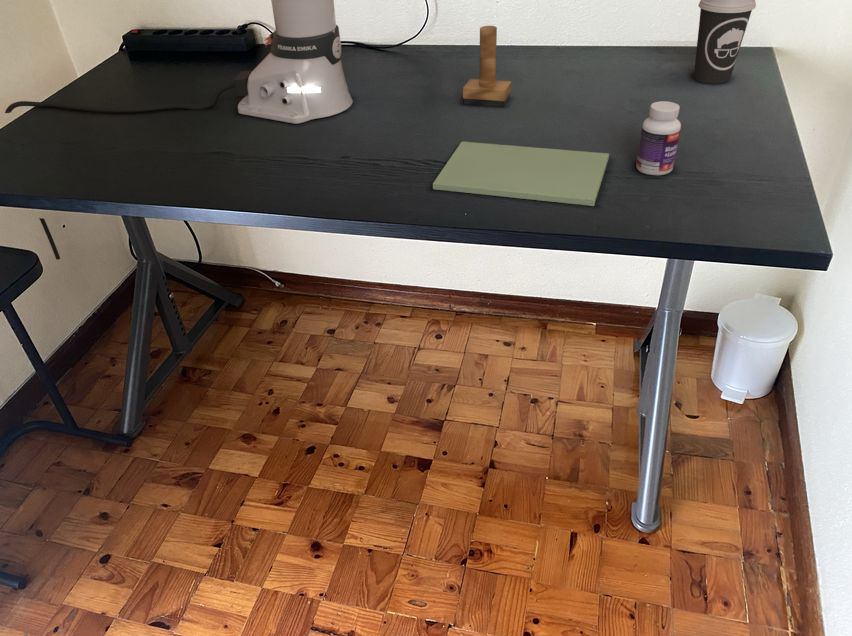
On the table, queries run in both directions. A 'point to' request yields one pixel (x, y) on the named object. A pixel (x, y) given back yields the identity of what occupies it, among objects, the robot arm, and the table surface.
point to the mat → (524, 173)
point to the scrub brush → (487, 75)
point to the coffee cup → (720, 38)
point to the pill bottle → (659, 139)
